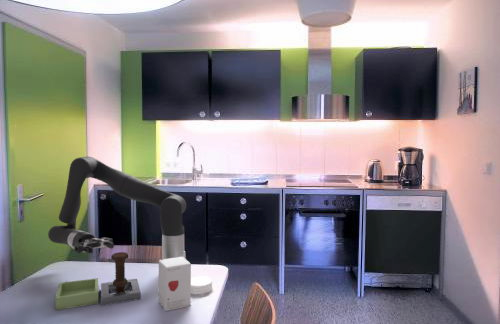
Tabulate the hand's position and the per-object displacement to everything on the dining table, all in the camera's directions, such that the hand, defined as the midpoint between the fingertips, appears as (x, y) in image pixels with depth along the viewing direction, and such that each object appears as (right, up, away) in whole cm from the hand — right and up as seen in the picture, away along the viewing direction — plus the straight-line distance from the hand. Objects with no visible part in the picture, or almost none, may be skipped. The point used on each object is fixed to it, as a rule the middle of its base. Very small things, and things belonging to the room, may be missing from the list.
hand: (102, 248), depth 137 cm
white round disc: (+37, -16, -1) cm, 40 cm away
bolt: (+9, -16, -6) cm, 19 cm away
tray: (-5, -16, -10) cm, 19 cm away
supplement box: (+30, -16, -13) cm, 37 cm away
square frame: (+9, -16, -6) cm, 19 cm away
